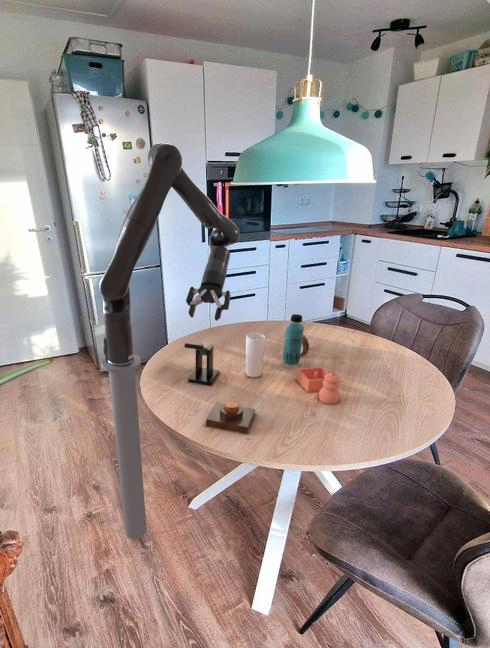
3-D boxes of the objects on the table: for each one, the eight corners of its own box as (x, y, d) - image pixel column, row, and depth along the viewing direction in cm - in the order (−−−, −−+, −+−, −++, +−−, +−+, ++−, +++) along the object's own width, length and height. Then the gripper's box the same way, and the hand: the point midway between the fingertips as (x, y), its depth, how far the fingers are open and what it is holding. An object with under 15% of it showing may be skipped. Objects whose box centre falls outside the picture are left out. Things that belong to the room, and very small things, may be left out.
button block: (206, 425, 110) (206, 414, 108) (216, 408, 118) (216, 396, 117) (247, 433, 107) (248, 421, 105) (254, 415, 116) (255, 403, 114)
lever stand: (210, 385, 131) (211, 354, 126) (188, 382, 133) (188, 350, 128) (219, 373, 140) (220, 343, 135) (198, 369, 142) (198, 340, 137)
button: (223, 411, 110) (224, 406, 109) (227, 405, 113) (227, 400, 112) (236, 414, 109) (236, 408, 108) (239, 407, 112) (239, 402, 112)
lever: (201, 351, 119) (203, 343, 119) (183, 348, 121) (185, 341, 121) (213, 356, 133) (214, 349, 133) (196, 354, 134) (198, 347, 135)
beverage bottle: (279, 362, 150) (284, 313, 142) (294, 360, 152) (299, 311, 144) (287, 369, 144) (293, 318, 136) (302, 367, 147) (309, 317, 138)
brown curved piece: (308, 357, 155) (310, 338, 151) (301, 358, 154) (304, 339, 150) (289, 344, 167) (291, 325, 164) (282, 344, 166) (284, 326, 163)
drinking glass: (257, 369, 144) (260, 331, 137) (265, 377, 138) (269, 338, 132) (240, 371, 142) (243, 333, 135) (248, 380, 136) (251, 340, 129)
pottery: (296, 379, 137) (299, 354, 133) (320, 377, 140) (324, 352, 135) (319, 405, 122) (324, 378, 117) (346, 402, 124) (351, 375, 120)
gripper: (192, 267, 129) (179, 310, 124) (233, 271, 126) (222, 315, 121) (197, 279, 136) (186, 320, 131) (236, 283, 133) (226, 325, 128)
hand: (203, 318), depth 126 cm, fingers open, 8 cm apart
